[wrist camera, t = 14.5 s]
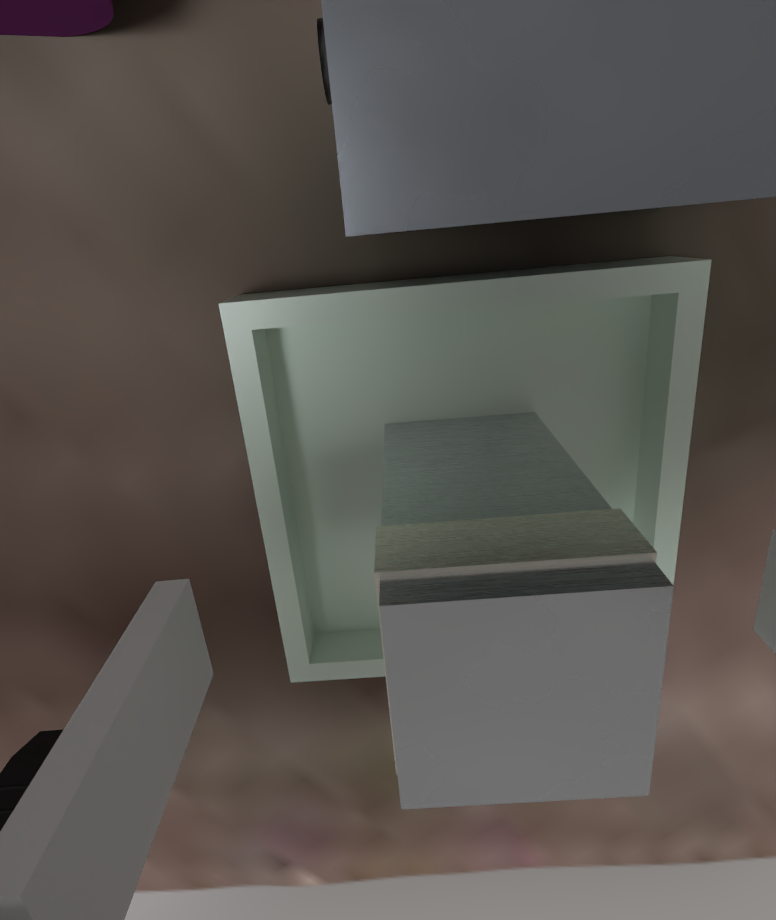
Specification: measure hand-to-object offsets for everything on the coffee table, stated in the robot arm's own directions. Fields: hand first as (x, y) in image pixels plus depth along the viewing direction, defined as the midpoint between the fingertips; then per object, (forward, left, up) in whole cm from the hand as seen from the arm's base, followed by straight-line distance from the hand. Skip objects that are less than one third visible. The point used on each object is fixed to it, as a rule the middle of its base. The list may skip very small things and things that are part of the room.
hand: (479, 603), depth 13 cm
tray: (0, 0, -8) cm, 8 cm away
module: (0, 0, -7) cm, 7 cm away
